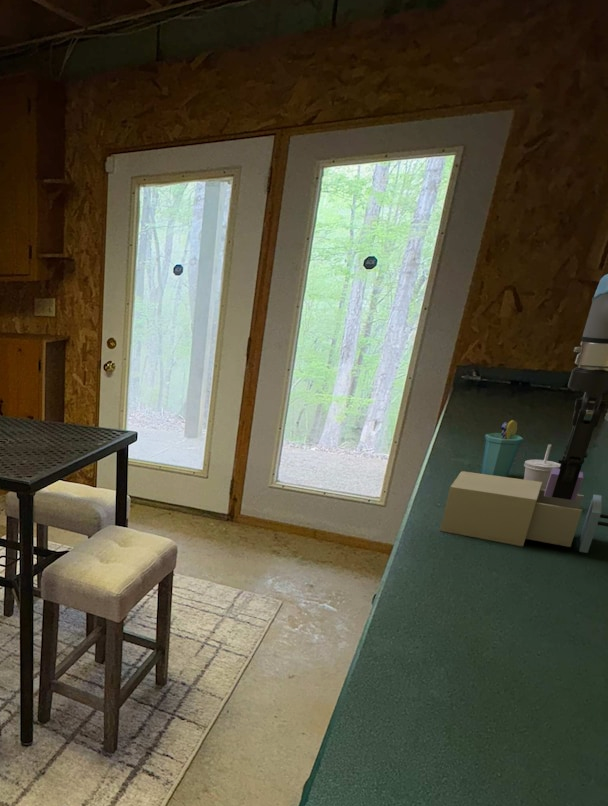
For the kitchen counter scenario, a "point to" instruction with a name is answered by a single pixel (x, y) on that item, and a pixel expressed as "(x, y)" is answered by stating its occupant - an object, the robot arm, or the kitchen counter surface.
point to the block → (553, 481)
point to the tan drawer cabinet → (490, 507)
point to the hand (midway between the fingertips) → (561, 493)
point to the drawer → (564, 520)
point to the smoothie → (540, 469)
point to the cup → (501, 450)
